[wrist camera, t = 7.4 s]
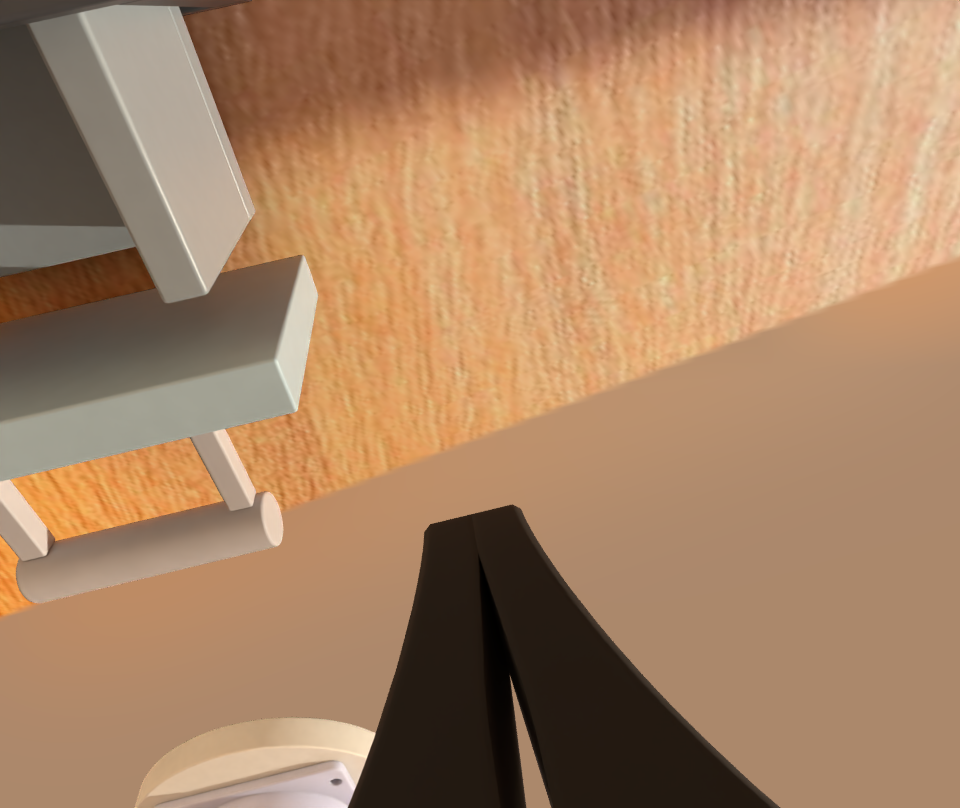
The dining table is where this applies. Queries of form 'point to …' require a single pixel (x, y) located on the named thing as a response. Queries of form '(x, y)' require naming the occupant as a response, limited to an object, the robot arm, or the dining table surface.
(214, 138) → the tray
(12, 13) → the box
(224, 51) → the dining table surface
